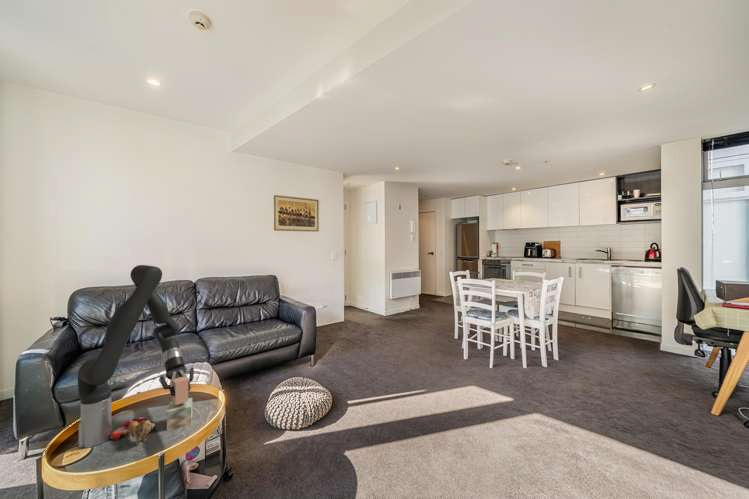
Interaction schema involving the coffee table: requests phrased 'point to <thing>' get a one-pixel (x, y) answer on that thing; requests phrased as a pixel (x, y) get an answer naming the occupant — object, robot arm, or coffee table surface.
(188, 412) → the sage green base block
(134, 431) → the lion figurine
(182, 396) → the terracotta brick
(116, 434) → the race car
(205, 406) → the coffee table surface
